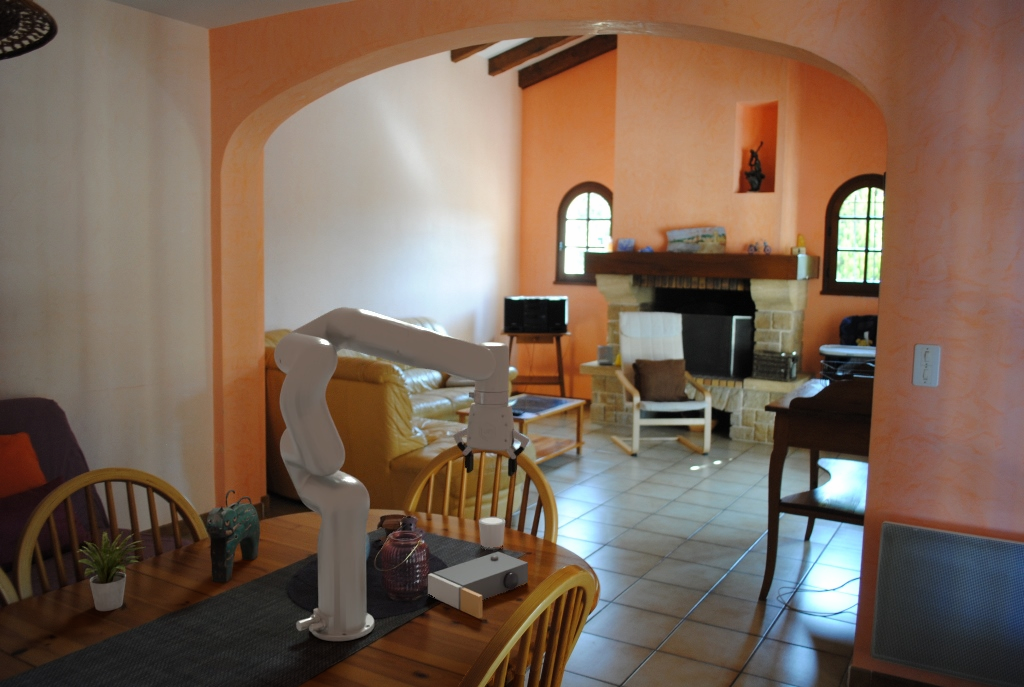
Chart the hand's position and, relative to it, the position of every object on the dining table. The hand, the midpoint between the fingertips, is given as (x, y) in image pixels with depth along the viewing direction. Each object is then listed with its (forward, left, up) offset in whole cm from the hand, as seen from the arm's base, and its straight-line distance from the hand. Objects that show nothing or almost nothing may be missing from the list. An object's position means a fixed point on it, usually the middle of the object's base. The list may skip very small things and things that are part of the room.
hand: (490, 473), depth 192 cm
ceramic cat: (-37, +49, -27) cm, 67 cm away
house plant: (-67, +46, -27) cm, 86 cm away
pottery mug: (+3, +39, -27) cm, 48 cm away
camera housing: (-2, 0, -26) cm, 27 cm away
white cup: (+19, +19, -27) cm, 38 cm away
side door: (-13, -3, -26) cm, 29 cm away
